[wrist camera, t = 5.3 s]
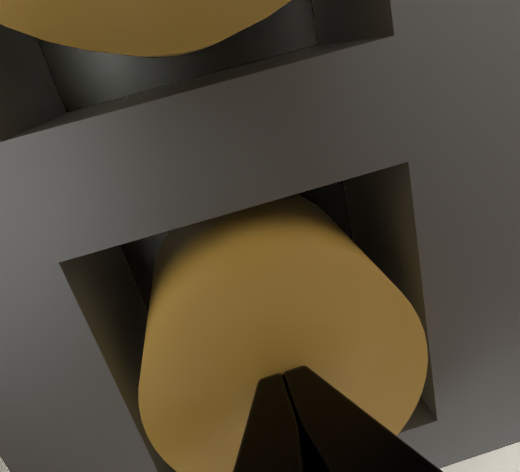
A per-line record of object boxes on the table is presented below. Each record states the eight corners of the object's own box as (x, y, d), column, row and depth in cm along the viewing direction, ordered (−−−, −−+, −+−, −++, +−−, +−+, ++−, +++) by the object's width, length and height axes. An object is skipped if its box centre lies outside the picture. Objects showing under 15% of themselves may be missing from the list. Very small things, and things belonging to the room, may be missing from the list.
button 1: (362, 333, 12) (438, 448, 9) (188, 388, 12) (191, 530, 8) (330, 161, 10) (412, 215, 7) (122, 221, 10) (88, 311, 6)
